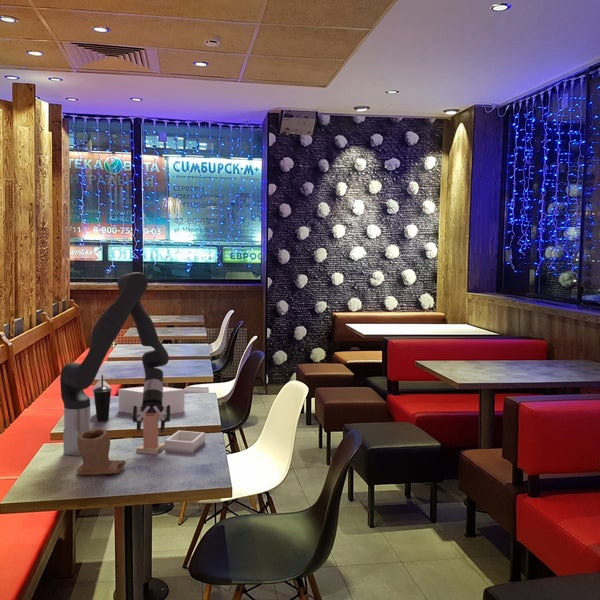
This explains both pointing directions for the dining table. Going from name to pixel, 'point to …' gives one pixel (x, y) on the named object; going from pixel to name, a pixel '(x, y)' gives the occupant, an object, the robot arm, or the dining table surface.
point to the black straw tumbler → (99, 384)
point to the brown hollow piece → (97, 453)
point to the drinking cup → (102, 402)
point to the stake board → (150, 449)
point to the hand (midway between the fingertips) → (150, 431)
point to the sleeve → (150, 430)
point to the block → (135, 398)
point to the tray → (185, 441)
